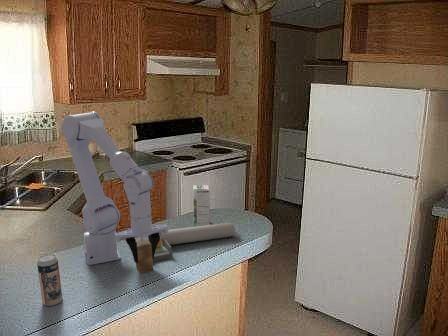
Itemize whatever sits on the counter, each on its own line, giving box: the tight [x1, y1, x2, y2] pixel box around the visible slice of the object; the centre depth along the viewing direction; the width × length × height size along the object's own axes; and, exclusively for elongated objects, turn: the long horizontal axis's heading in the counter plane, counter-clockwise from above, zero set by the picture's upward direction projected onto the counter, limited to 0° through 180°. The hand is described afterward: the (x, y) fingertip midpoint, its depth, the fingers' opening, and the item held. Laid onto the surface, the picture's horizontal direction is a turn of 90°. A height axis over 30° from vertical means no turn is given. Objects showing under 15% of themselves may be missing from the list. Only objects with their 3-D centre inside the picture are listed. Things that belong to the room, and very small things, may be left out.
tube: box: [161, 222, 236, 246], centre depth 140 cm, size 5×5×25 cm
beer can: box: [36, 253, 64, 307], centre depth 105 cm, size 5×5×12 cm
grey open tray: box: [140, 233, 174, 262], centre depth 132 cm, size 12×7×4 cm, turn 24°
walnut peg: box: [135, 239, 154, 274], centre depth 121 cm, size 4×4×8 cm
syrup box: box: [192, 184, 211, 227], centre depth 152 cm, size 6×6×14 cm
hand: (143, 259), depth 121 cm, fingers closed on walnut peg, 4 cm apart
